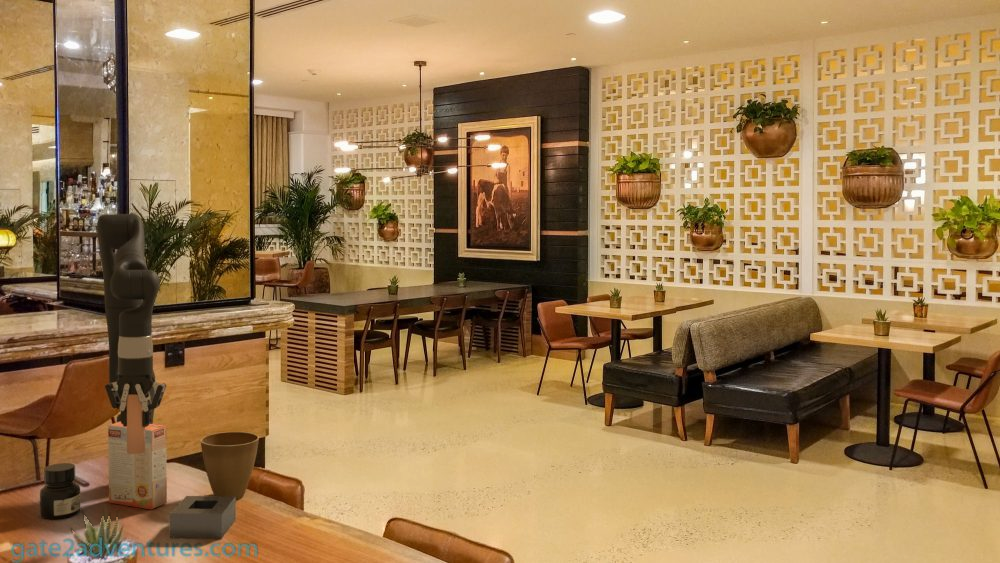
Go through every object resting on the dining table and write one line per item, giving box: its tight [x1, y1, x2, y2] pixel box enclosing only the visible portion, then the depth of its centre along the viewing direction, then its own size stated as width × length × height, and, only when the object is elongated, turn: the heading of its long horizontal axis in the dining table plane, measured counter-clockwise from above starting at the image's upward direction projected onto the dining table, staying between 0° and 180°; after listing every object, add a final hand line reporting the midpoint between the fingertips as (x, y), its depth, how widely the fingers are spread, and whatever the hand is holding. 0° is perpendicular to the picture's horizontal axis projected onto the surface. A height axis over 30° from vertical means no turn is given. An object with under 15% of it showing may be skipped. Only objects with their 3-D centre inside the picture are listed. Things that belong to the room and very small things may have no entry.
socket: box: [169, 495, 237, 540], centre depth 200 cm, size 12×12×6 cm
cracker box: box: [107, 421, 168, 510], centre depth 215 cm, size 14×6×21 cm, turn 71°
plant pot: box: [200, 431, 260, 500], centre depth 223 cm, size 15×15×16 cm
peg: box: [127, 394, 145, 454], centre depth 196 cm, size 4×4×14 cm
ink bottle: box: [39, 462, 81, 520], centre depth 207 cm, size 10×9×12 cm
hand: (136, 425), depth 196 cm, fingers closed on peg, 4 cm apart
